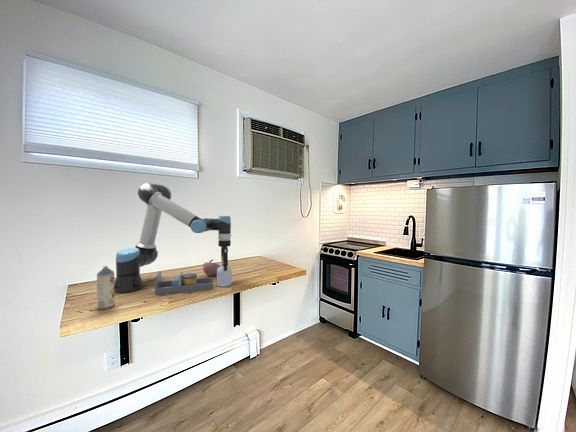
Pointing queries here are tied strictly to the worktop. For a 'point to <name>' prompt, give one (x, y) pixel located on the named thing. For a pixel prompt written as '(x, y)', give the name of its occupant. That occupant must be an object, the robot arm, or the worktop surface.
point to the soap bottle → (221, 279)
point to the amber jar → (189, 279)
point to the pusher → (177, 280)
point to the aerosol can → (105, 288)
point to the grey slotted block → (177, 289)
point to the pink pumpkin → (210, 268)
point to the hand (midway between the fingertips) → (224, 272)
